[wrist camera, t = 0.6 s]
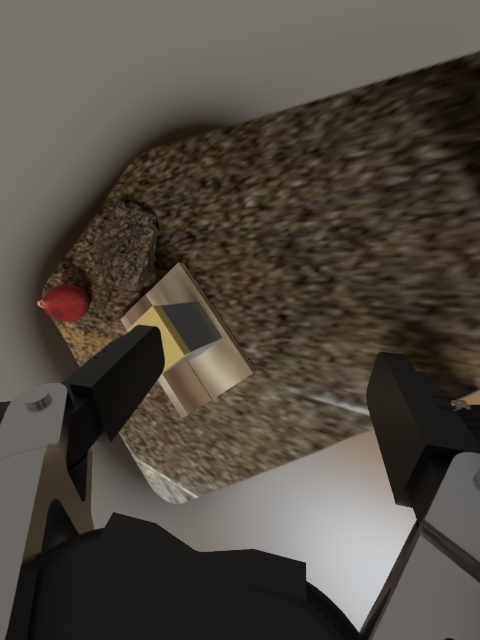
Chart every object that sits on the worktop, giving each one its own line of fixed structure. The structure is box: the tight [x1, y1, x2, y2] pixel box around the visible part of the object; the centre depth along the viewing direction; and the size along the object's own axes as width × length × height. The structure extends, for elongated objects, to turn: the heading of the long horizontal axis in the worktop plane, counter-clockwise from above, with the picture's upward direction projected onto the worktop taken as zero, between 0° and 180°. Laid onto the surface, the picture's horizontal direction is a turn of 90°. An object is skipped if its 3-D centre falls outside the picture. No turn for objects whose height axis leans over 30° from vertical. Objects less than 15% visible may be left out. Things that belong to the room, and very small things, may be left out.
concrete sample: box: [90, 200, 160, 291], centre depth 37 cm, size 12×10×5 cm
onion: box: [38, 284, 90, 321], centre depth 41 cm, size 6×6×8 cm
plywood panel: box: [121, 262, 256, 418], centre depth 38 cm, size 14×18×1 cm
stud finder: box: [128, 301, 223, 374], centre depth 32 cm, size 4×6×9 cm
